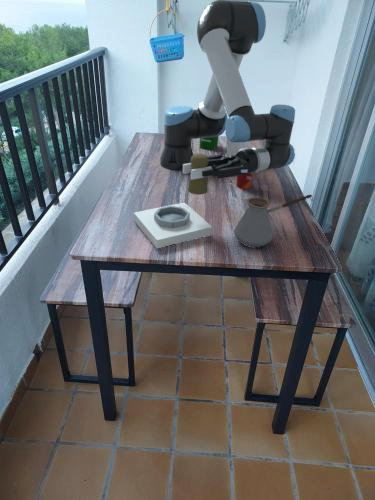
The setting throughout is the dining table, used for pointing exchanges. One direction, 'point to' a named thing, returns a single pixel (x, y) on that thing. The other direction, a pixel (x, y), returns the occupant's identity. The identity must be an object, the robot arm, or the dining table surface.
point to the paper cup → (244, 179)
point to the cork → (198, 184)
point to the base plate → (169, 233)
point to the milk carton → (209, 142)
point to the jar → (236, 147)
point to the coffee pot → (258, 222)
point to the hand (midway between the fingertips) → (187, 171)
